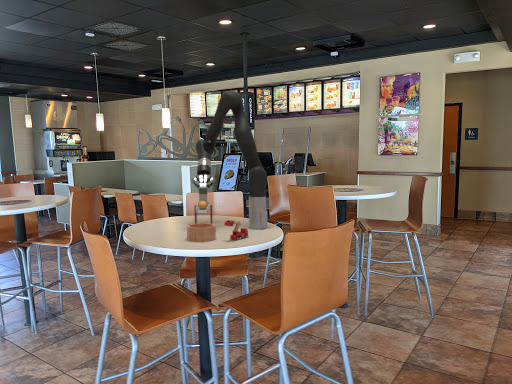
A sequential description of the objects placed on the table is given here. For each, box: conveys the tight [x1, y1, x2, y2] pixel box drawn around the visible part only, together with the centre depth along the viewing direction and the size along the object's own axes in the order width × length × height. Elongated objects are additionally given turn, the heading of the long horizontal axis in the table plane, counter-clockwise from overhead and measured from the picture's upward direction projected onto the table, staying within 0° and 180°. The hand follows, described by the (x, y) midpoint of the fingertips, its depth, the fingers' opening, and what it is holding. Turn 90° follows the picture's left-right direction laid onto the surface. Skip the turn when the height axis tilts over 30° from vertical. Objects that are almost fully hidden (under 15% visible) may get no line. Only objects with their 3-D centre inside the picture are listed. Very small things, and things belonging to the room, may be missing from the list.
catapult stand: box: [193, 204, 214, 224], centre depth 198 cm, size 14×12×14 cm
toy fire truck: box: [224, 219, 249, 241], centre depth 181 cm, size 3×14×10 cm, turn 141°
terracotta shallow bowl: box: [186, 222, 217, 243], centre depth 182 cm, size 13×13×6 cm
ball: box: [199, 201, 207, 209], centre depth 193 cm, size 4×4×4 cm
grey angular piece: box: [194, 187, 210, 215], centre depth 194 cm, size 18×6×13 cm, turn 4°
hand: (202, 193), depth 197 cm, fingers closed
